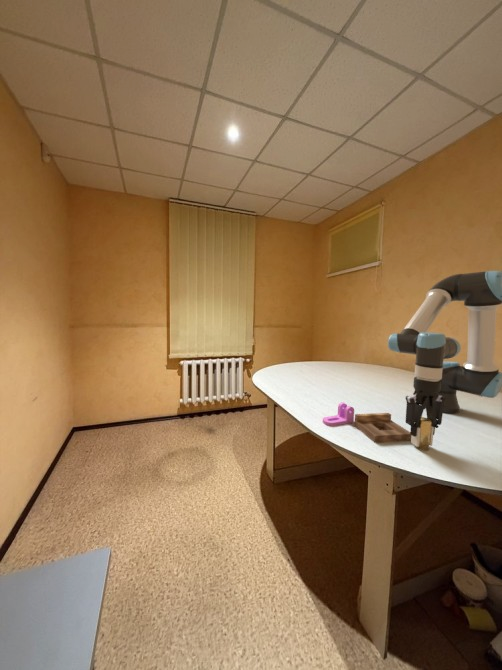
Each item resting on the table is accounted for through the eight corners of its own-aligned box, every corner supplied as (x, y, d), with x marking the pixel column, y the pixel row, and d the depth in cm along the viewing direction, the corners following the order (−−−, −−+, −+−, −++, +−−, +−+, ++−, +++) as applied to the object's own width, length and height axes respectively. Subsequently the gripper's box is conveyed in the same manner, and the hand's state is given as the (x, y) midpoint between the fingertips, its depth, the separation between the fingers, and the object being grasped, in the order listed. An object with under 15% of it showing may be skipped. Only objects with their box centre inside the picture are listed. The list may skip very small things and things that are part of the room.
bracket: (344, 417, 109) (345, 401, 108) (353, 422, 104) (354, 406, 103) (319, 421, 104) (320, 405, 104) (328, 426, 99) (329, 410, 99)
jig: (387, 424, 103) (388, 412, 102) (412, 440, 90) (413, 427, 89) (354, 425, 100) (355, 414, 100) (374, 442, 88) (375, 429, 87)
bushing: (421, 443, 88) (423, 416, 87) (432, 450, 83) (434, 422, 82) (410, 444, 87) (412, 417, 86) (420, 451, 83) (423, 422, 82)
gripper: (440, 375, 88) (434, 437, 90) (396, 375, 85) (391, 439, 88) (460, 380, 80) (453, 448, 83) (413, 382, 78) (407, 451, 80)
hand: (421, 443), depth 85 cm, fingers closed on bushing, 4 cm apart
